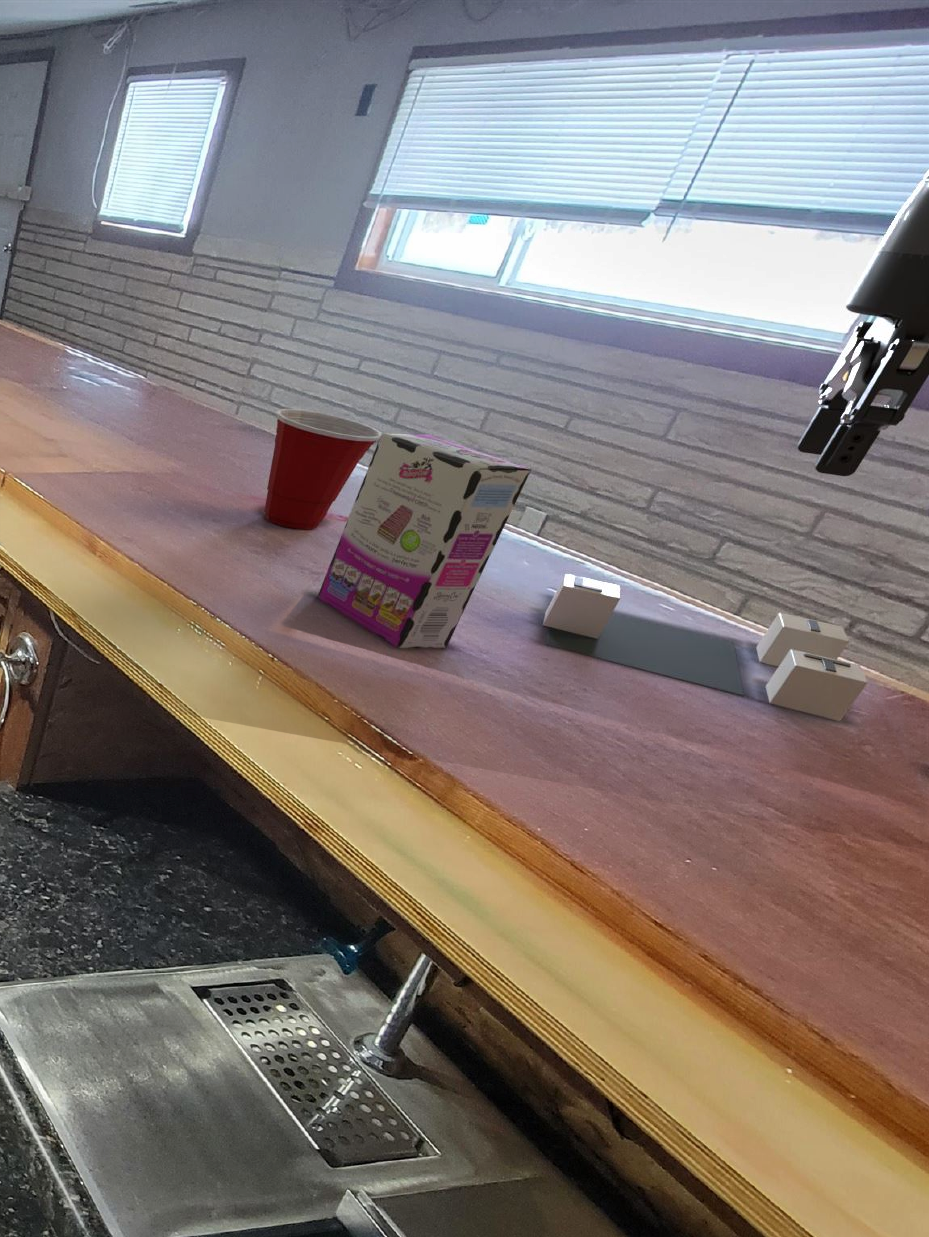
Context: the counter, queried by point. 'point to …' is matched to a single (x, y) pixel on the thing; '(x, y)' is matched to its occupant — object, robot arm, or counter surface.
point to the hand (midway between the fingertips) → (821, 462)
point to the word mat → (659, 651)
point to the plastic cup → (312, 465)
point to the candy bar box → (420, 537)
